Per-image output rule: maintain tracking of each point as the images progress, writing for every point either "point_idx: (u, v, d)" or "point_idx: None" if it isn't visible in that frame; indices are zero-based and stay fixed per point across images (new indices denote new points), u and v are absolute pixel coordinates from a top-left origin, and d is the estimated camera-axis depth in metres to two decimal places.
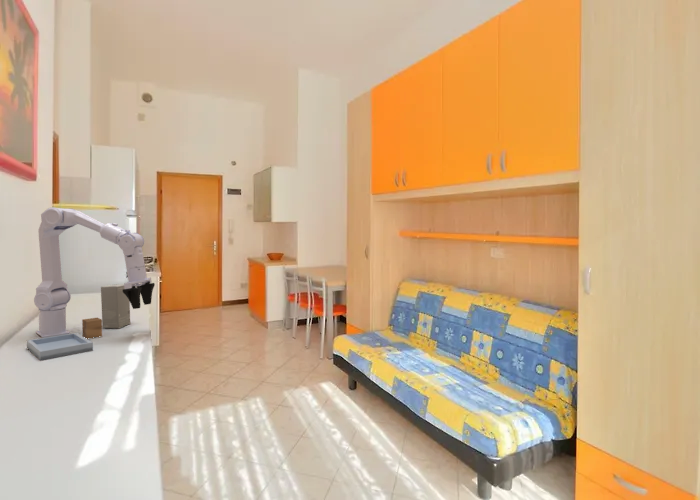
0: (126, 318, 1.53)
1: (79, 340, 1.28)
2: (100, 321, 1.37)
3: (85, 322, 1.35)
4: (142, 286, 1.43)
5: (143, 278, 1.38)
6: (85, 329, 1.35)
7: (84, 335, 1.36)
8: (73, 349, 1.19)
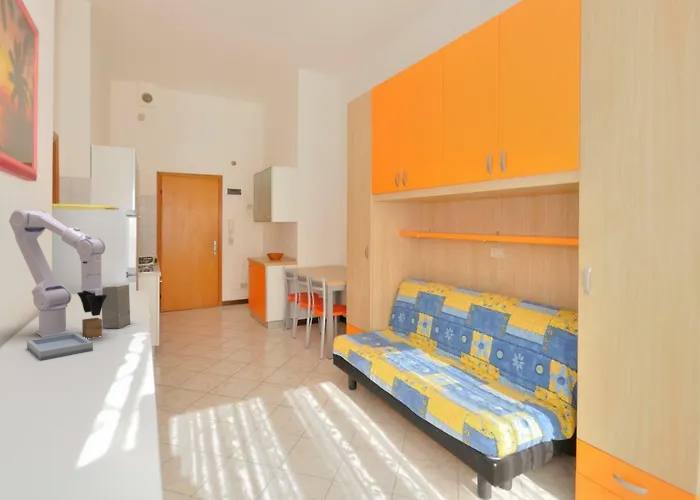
0: (126, 318, 1.53)
1: (79, 340, 1.28)
2: (100, 321, 1.37)
3: (85, 322, 1.35)
4: (85, 293, 1.39)
5: (101, 285, 1.38)
6: (85, 329, 1.35)
7: (84, 335, 1.36)
8: (73, 349, 1.19)
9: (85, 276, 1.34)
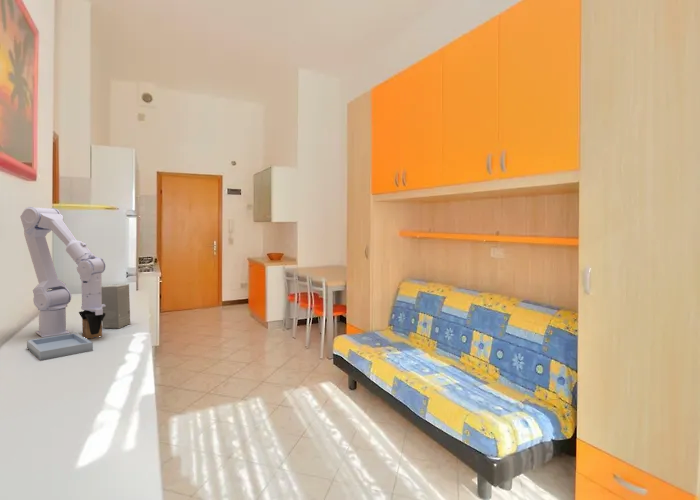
0: (126, 318, 1.53)
1: (79, 340, 1.28)
2: None
3: (85, 322, 1.35)
4: (87, 312, 1.38)
5: (101, 304, 1.38)
6: (85, 329, 1.35)
7: (84, 335, 1.36)
8: (73, 349, 1.19)
9: (85, 295, 1.34)
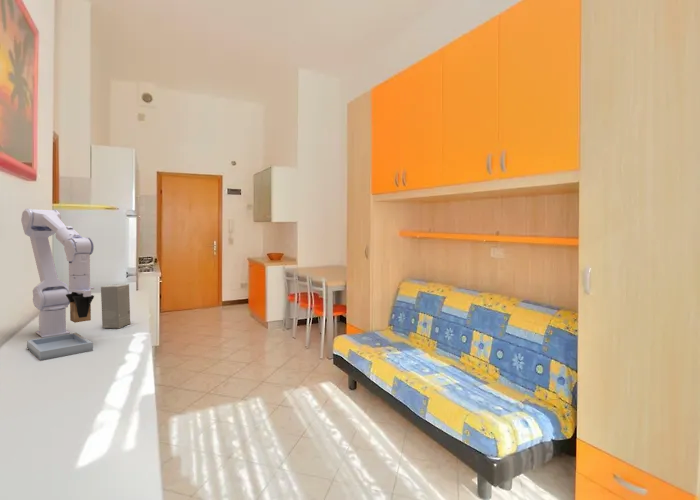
0: (126, 318, 1.53)
1: (79, 340, 1.28)
2: None
3: (73, 305, 1.29)
4: (74, 295, 1.32)
5: (89, 286, 1.32)
6: (73, 312, 1.29)
7: (72, 318, 1.30)
8: (73, 349, 1.19)
9: (73, 277, 1.28)
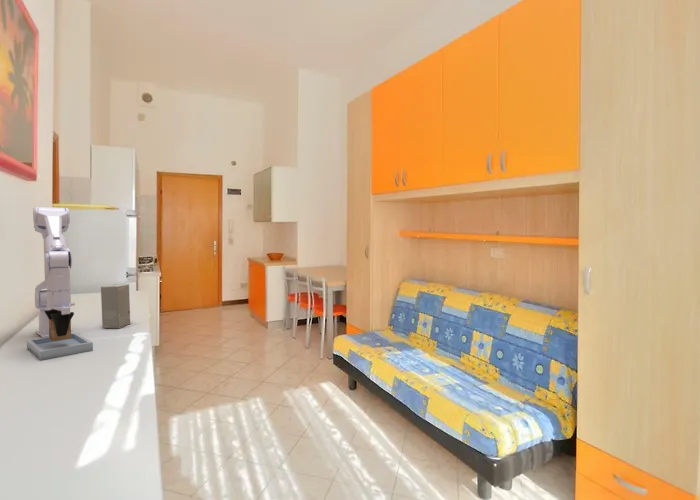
0: (126, 318, 1.53)
1: (79, 340, 1.28)
2: None
3: (51, 322, 1.20)
4: (54, 312, 1.24)
5: (70, 302, 1.24)
6: (51, 330, 1.21)
7: (50, 337, 1.21)
8: (73, 349, 1.19)
9: (51, 292, 1.19)
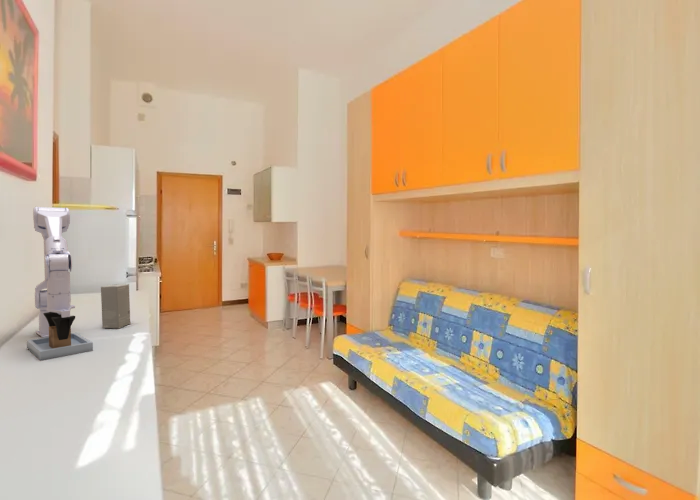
0: (126, 318, 1.53)
1: (79, 340, 1.28)
2: None
3: (51, 330, 1.21)
4: (52, 314, 1.24)
5: (70, 305, 1.24)
6: (51, 338, 1.21)
7: (50, 344, 1.22)
8: (73, 349, 1.19)
9: (51, 295, 1.19)
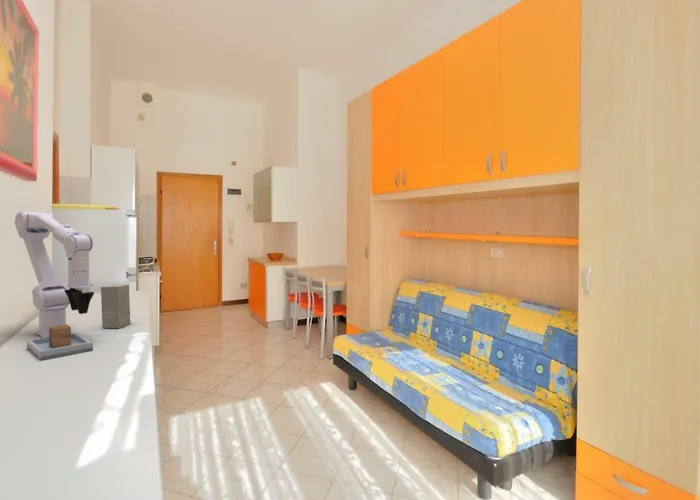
0: (126, 318, 1.53)
1: (79, 340, 1.28)
2: (69, 328, 1.23)
3: (51, 330, 1.21)
4: (73, 291, 1.35)
5: (88, 282, 1.34)
6: (51, 338, 1.21)
7: (50, 344, 1.22)
8: (73, 349, 1.19)
9: (72, 273, 1.30)
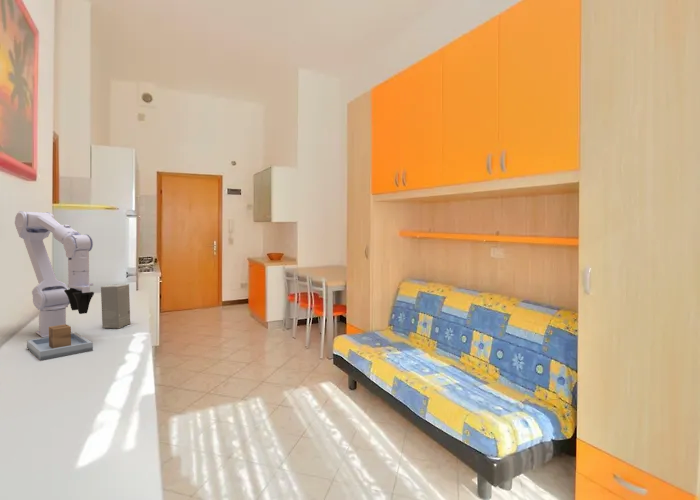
0: (126, 318, 1.53)
1: (79, 340, 1.28)
2: (69, 328, 1.23)
3: (51, 330, 1.21)
4: (73, 291, 1.35)
5: (88, 282, 1.34)
6: (51, 338, 1.21)
7: (50, 344, 1.22)
8: (73, 349, 1.19)
9: (72, 273, 1.30)
